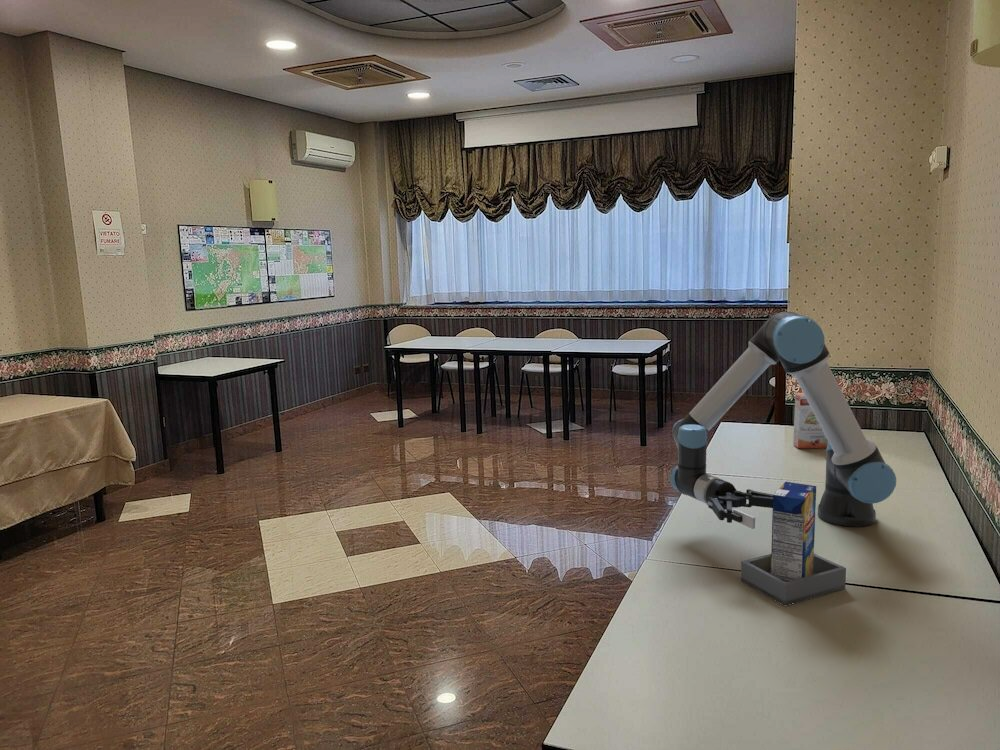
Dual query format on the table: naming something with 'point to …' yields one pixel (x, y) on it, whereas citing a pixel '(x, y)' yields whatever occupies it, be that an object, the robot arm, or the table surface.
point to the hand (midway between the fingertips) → (776, 517)
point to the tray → (820, 583)
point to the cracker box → (807, 426)
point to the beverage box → (793, 531)
